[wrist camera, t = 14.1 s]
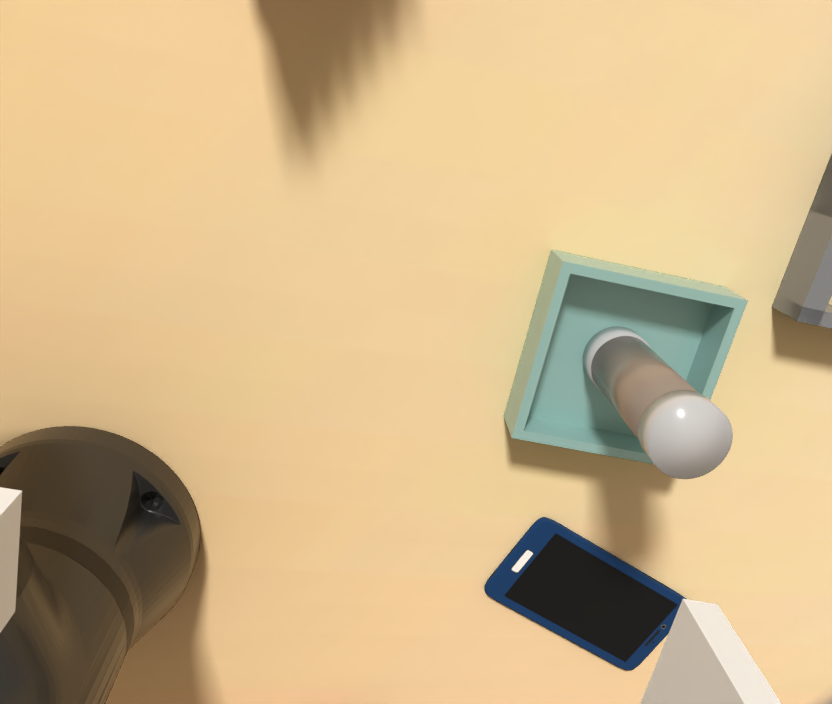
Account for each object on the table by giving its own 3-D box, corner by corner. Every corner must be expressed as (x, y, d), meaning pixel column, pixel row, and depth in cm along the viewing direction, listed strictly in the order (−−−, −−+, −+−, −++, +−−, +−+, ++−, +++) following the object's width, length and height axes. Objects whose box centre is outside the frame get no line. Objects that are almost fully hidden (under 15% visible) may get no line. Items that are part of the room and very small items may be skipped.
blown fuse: (634, 391, 48) (716, 485, 36) (574, 380, 47) (638, 471, 36) (654, 332, 46) (744, 410, 35) (592, 320, 46) (664, 395, 35)
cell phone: (540, 510, 52) (543, 516, 51) (692, 599, 55) (696, 605, 54) (478, 586, 53) (480, 593, 53) (628, 667, 57) (632, 675, 56)
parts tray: (666, 447, 50) (683, 469, 47) (503, 416, 49) (511, 437, 46) (724, 286, 46) (747, 300, 43) (551, 249, 45) (563, 261, 42)
